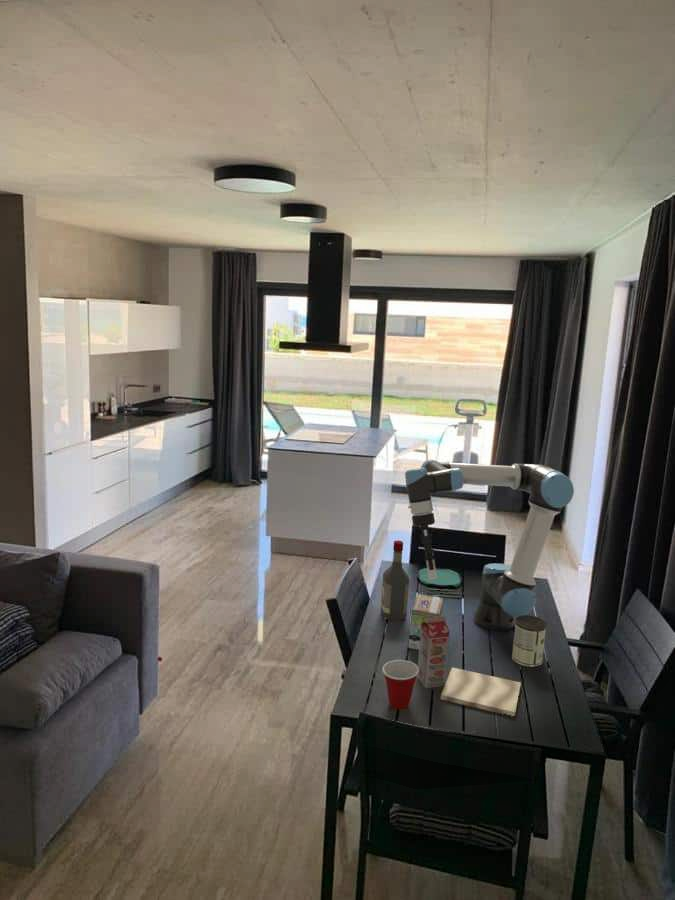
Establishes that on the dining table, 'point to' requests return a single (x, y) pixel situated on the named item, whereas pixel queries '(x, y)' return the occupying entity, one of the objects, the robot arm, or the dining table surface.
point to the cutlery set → (441, 580)
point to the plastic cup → (400, 682)
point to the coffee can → (529, 640)
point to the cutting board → (481, 691)
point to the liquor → (395, 587)
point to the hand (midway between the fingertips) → (432, 575)
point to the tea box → (423, 616)
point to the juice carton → (433, 652)
